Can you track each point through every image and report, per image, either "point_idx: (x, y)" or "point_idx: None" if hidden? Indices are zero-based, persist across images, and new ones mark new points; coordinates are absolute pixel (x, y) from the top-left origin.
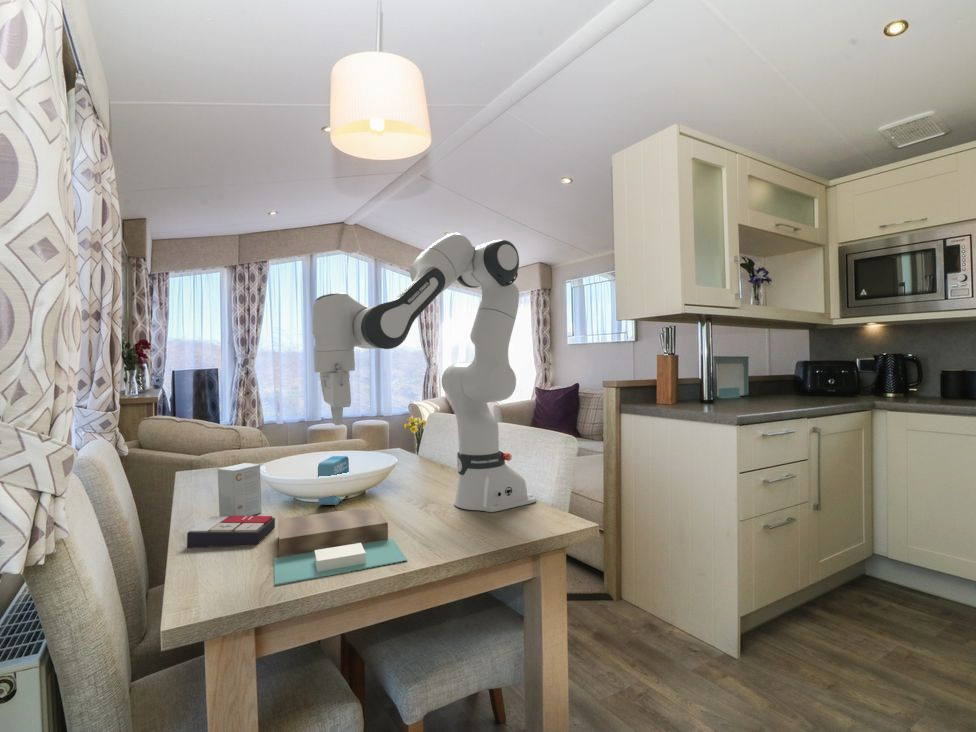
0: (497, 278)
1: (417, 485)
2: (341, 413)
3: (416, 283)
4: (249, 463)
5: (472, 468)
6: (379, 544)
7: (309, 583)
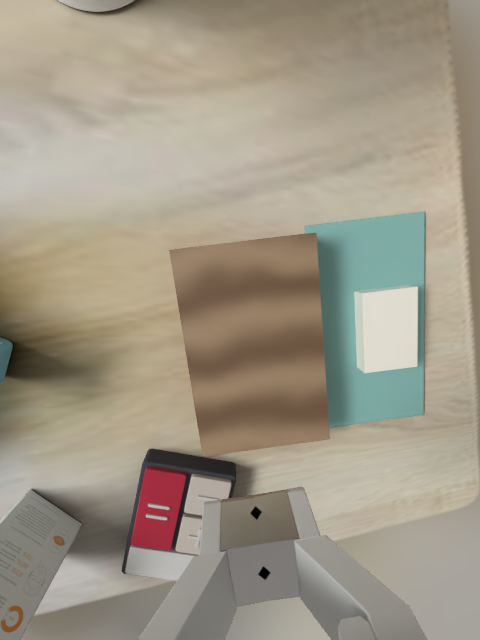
0: None
1: None
2: (363, 575)
3: None
4: None
5: None
6: (327, 255)
7: (435, 368)
